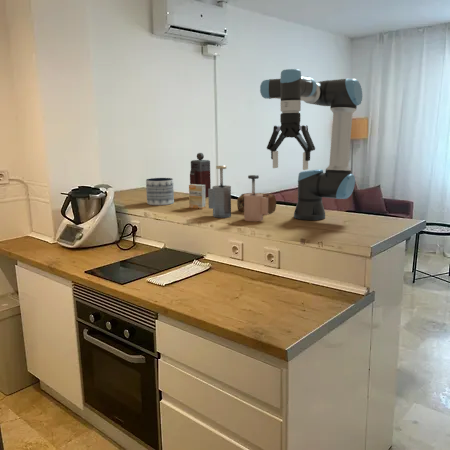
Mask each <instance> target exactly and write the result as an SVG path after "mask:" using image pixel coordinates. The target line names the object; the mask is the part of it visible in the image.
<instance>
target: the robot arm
mask: <svg viewBox="0 0 450 450" xmlns="http://www.w3.org/2000/svg"><path fill="white" fill-rule="evenodd" d="M259 92H260V96H261V97H262V98H263V99H269V100H270V99H271V100H272V99H278V100H280V112H281V113H280V114H279V115H280V119H279V120H280V125H273V129H272V133H271V137H270V138H269V141H268V143H267V145H266V150H268V151H270V155H271V156H270V158H271V160H272V169H279V151H278V149H279V147H280V146H281V144H282V143H283V141H284V140H285V139H286V138H293V139H296V141H297V142H298V144H299V146H301V148H302V149H303V151H304V152H302V170H303V171H300V172H299V173H298V179H297V202H296V206H295V208H294V211H293V217H294V219H297V220H301V221H302V220H303V221H317V220H318V221H319V220H323V219H325V218H326V211H325V208H324V204H323V198H328V199H337V200H342V199H343V200H347V199H349V198H350V197H351V196H352V194H353V192H354V189H355V185H356V177H355V175H354V174H353V173H352V169H351V168H350V166H349V161H350V149H351V137H352V125H353V124H352V123H353V115H354V113H355V112H356V111H357V107H358V106H360V105H361V104H362V101H363V88H362V86H361V83H360V81H359V80H358V79H357V78H341V79H330V80H328V79H327V80H321V81H316V80H315V79H314V78H312V77H309V76H302V71H301V70H300V69H298V68H288V69H282V71H281V72H280V77H279V78H270V79H264V80H262V82H261V83H260V86H259ZM302 101H303V102H304V103H306V104H309V105H316V106H321V107H330V111H331V112H332V113H333V114H332V126H331V127H332V128H331V137H330V138H331V139H330V151H329V153H330V154H329V165H328V166H327V167H326V168H325V171H324V169H311V170H309V161H311V152H312V151H315V150H316V147H315V145H314V142H313V140H312V137H311V134H310V133H309V132H310V131H309V126H308V125H306V124H303V125H302V124H301V113H300V111H301V110H302V109H301V106H302V105H301V102H302ZM280 131H281V132H280ZM300 131H301V133H302V134H301V133H300ZM279 133H280V134H279ZM278 136H279V137H278Z"/></svg>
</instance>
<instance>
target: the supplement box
mask: <svg viewBox="0 0 450 450" xmlns="http://www.w3.org/2000/svg"><path fill="white" fill-rule="evenodd" d="M188 203H189V204H188V205H189V206H188V207H189V209H198V208H199V209H200V210H201V209H202V210H203V209H205V208H206V207H207V206H206V204H207V203H206V198H205V185H198V184H191V185H190V184H188Z"/></svg>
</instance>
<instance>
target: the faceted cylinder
mask: <svg viewBox="0 0 450 450" xmlns="http://www.w3.org/2000/svg"><path fill="white" fill-rule="evenodd" d="M207 198H208V209H211V210H212V217H214V218H218V219H227V218H230V217H232V186H231V185H226V184H225V185H224V184H223V187H220V184H219V185H213V186H212V187H211V189H208V197H207Z"/></svg>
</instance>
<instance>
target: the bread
mask: <svg viewBox="0 0 450 450" xmlns="http://www.w3.org/2000/svg"><path fill="white" fill-rule="evenodd" d="M245 194H252V192H248V193H242V194H241V195H240V196H238V197H237V201H236V203H237V205H236V207H237V211H238V212H242V213H244V195H245ZM255 194H263V197H264V198H268V214H271V213H274V212H276V210H277V209H276V208H277V198H276V196H275V194H273V193H266V192H263V193H262V192H257V193H256V192H255Z"/></svg>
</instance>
